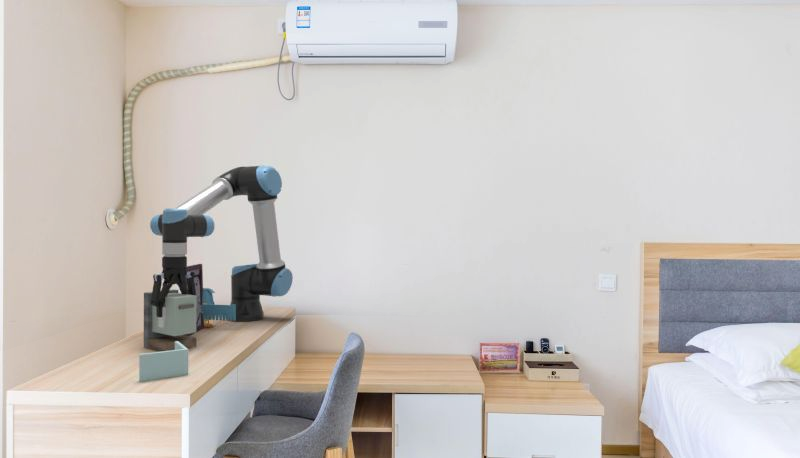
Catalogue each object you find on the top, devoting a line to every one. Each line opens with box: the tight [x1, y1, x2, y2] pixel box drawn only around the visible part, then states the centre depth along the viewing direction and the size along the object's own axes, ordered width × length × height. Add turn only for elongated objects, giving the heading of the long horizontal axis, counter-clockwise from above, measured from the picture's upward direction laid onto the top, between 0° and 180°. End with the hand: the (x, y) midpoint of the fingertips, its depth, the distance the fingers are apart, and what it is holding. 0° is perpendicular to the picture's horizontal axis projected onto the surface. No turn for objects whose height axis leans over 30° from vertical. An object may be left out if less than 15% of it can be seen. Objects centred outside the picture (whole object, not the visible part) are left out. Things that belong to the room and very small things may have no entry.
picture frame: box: [184, 263, 205, 336], centre depth 206 cm, size 17×10×25 cm, turn 179°
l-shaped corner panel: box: [138, 341, 189, 383], centre depth 151 cm, size 12×12×8 cm
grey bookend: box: [143, 289, 197, 352], centre depth 182 cm, size 11×12×18 cm
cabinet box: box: [152, 292, 197, 336], centre depth 181 cm, size 8×13×12 cm, turn 56°
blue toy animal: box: [200, 287, 236, 328], centre depth 216 cm, size 28×9×15 cm, turn 86°
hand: (174, 325), depth 181 cm, fingers closed on cabinet box, 8 cm apart
